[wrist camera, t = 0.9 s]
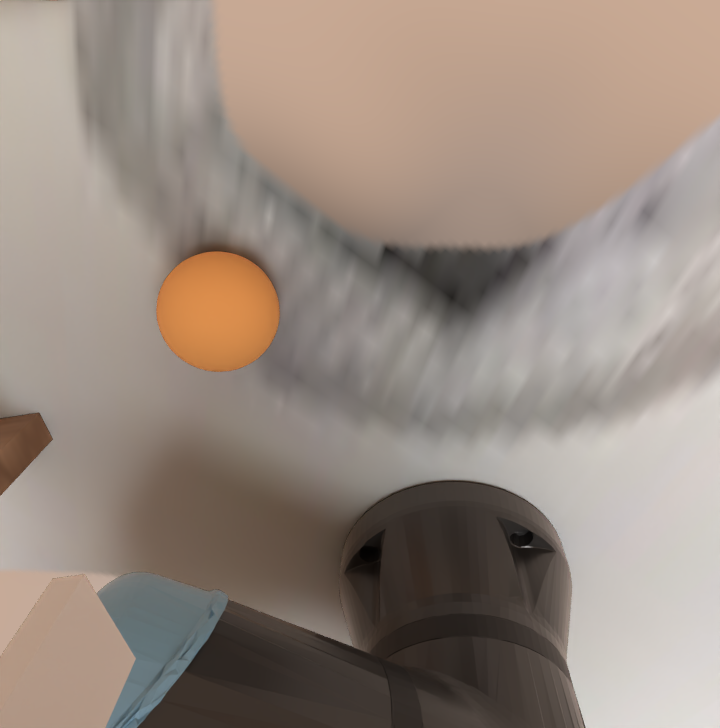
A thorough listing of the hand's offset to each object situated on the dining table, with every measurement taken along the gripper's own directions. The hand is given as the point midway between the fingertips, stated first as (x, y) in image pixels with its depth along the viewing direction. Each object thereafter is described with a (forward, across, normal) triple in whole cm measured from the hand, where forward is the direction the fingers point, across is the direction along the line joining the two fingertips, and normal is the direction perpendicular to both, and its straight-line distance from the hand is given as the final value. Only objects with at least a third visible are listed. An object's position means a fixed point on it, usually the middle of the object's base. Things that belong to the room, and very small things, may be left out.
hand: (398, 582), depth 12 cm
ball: (+18, +9, 0) cm, 21 cm away
